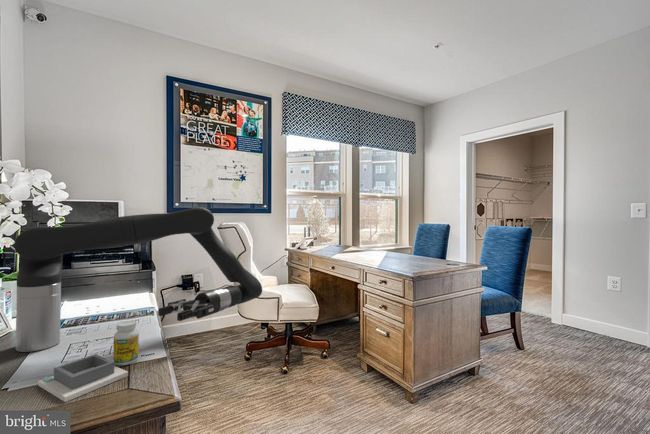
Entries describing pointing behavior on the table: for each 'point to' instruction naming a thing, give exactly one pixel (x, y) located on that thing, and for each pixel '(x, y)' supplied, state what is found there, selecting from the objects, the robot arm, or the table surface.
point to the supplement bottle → (126, 343)
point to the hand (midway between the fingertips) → (168, 314)
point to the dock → (81, 377)
